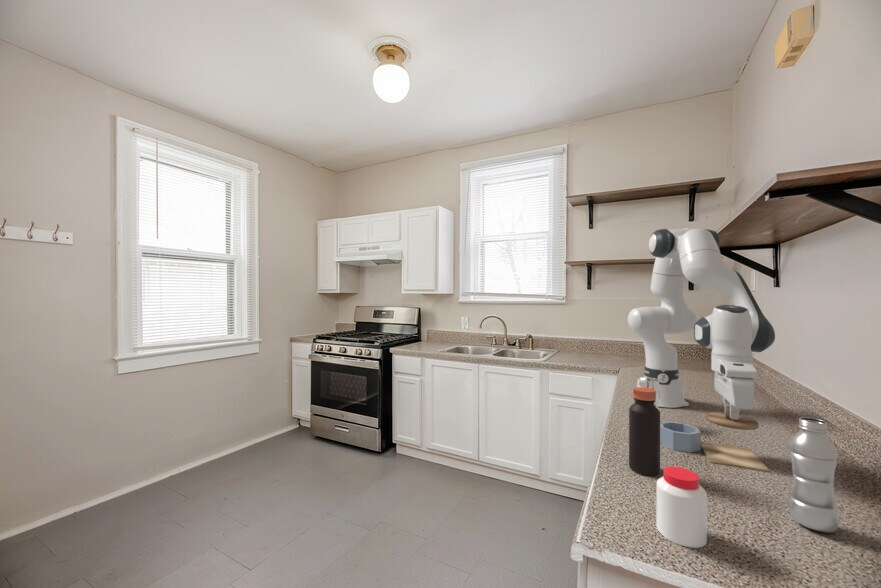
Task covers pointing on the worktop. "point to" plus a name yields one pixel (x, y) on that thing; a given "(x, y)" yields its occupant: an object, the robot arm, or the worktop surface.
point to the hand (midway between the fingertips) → (731, 416)
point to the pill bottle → (681, 507)
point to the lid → (732, 421)
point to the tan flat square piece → (732, 456)
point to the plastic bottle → (813, 476)
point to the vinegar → (644, 433)
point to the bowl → (680, 436)
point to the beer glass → (650, 386)
